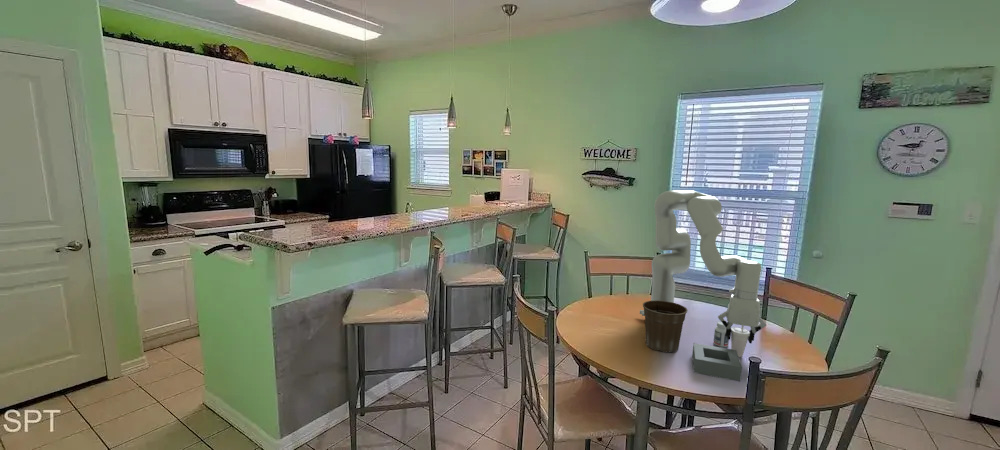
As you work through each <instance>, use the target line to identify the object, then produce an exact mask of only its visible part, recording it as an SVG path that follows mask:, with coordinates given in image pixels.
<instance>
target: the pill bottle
mask: <svg viewBox="0 0 1000 450" xmlns="http://www.w3.org/2000/svg"><path fill="white" fill-rule="evenodd" d="M729 341H730V340H728V338H727V336H726V327H725V326H724V324H723V323H722V322H721V321H717V323H716V326H715V328H714V334H713V344H714V345H715V346H716V347H720V348H727V347H729V344H730V343H729Z"/></svg>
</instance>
